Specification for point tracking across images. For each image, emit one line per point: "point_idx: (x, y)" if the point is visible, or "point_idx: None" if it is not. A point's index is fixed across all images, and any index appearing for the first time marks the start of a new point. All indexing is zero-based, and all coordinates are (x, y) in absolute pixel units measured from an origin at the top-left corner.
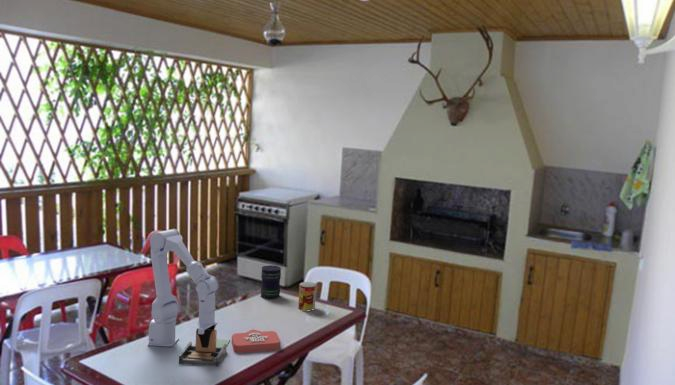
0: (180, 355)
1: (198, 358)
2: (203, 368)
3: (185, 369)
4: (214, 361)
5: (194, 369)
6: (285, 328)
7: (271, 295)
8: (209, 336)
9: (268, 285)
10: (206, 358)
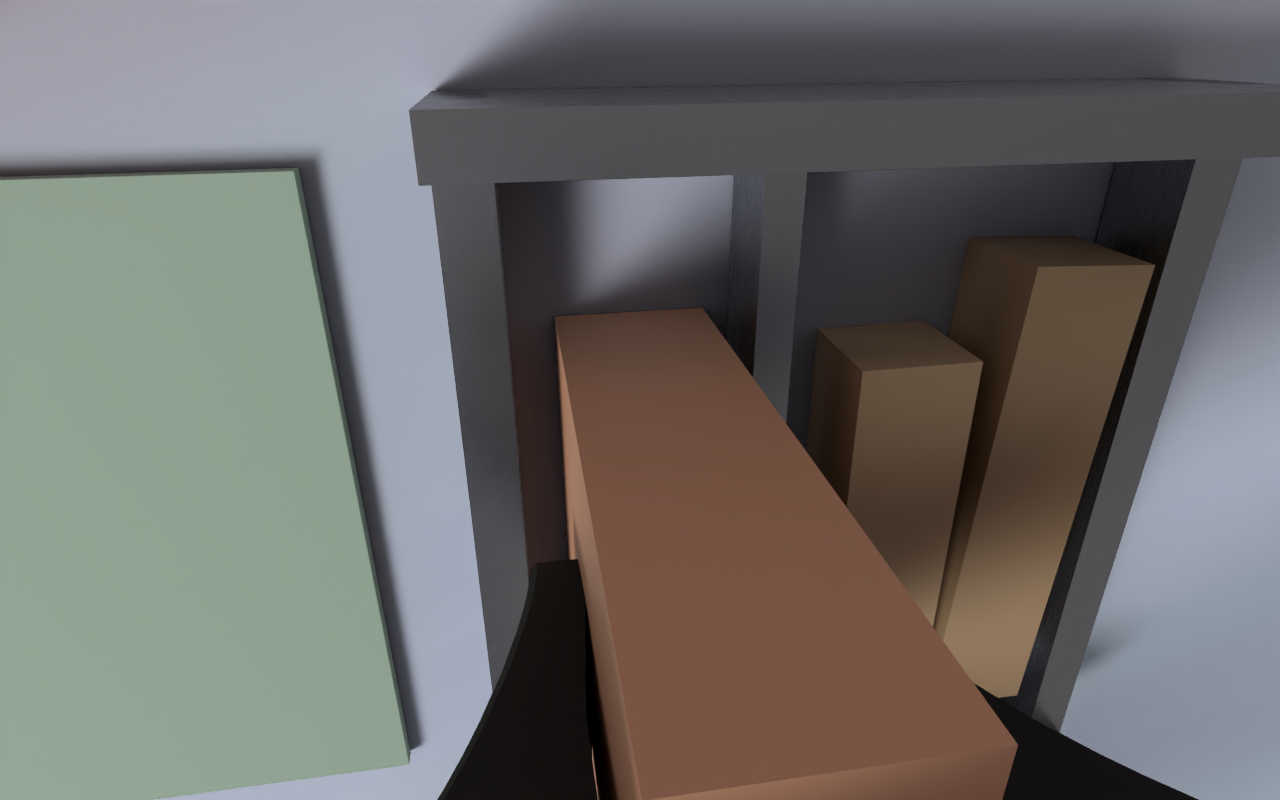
0: None
1: (1066, 520)
2: (1219, 325)
3: (1197, 560)
4: (1231, 176)
5: (1224, 447)
6: None
7: None
8: (1068, 748)
9: None
10: (1108, 382)
